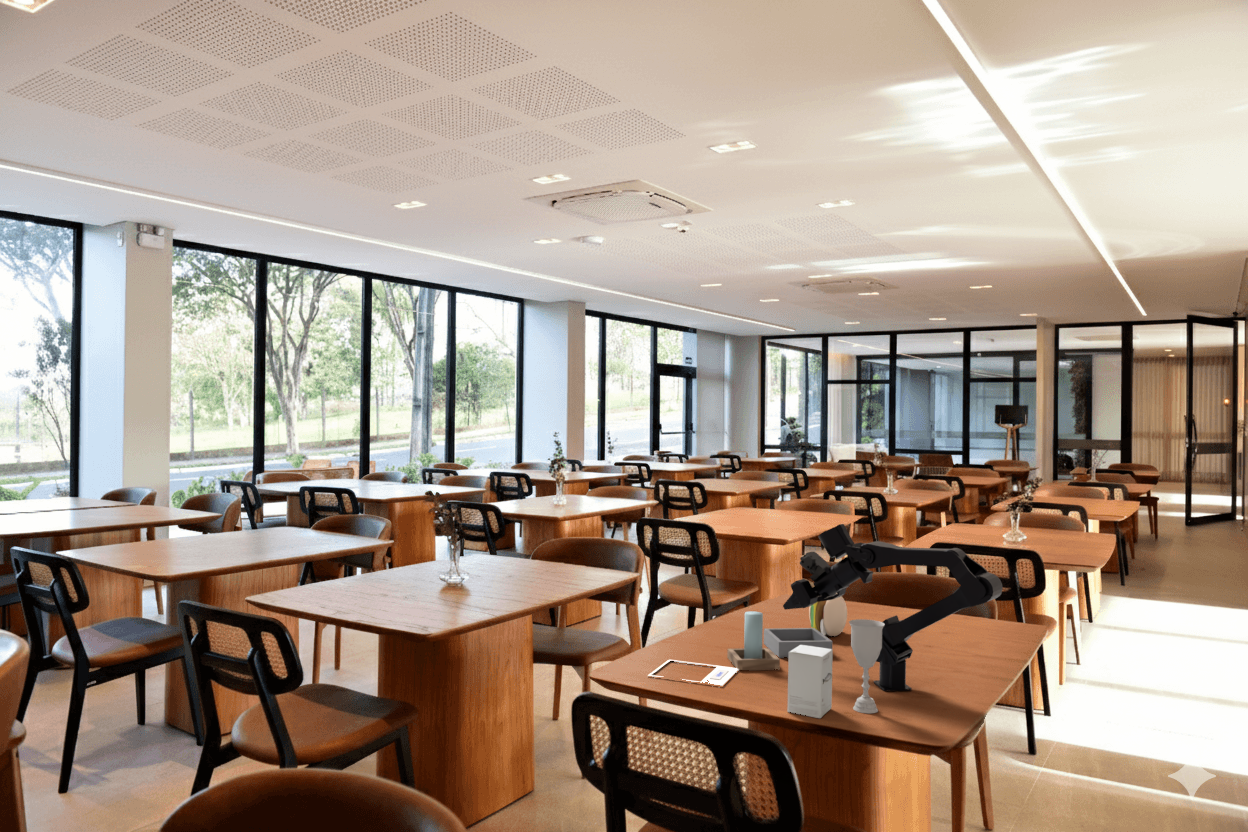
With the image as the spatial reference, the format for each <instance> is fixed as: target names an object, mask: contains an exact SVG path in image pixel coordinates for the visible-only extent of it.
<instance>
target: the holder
mask: <svg viewBox="0 0 1248 832" xmlns="http://www.w3.org/2000/svg"><path fill="white" fill-rule="evenodd" d="M726 650H727V654H726V655H727V658H728V659H729V660H730V661H731V662H732V664H733V665H734V666H735V667H736V668H737V669H739V670H749V671H780V670H781V667H780V665H781V660H780V659H781V658H778V657H777V656H776V655H775V654H774V653H773V652H772V651H771V650H770V649H769V648H768V647H762V658H758V659H744V647H743V648H742V647H741V648H740V647H739V648H727V649H726ZM728 659H727V660H728ZM729 660H728V661H729ZM730 661H729V662H730ZM731 662H730V663H731ZM732 664H731V665H732ZM733 665H732V666H733ZM734 666H733V667H734ZM735 667H734V668H735ZM774 669H775V670H774ZM776 669H778V670H776Z"/></svg>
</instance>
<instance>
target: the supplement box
mask: <svg viewBox="0 0 1248 832" xmlns="http://www.w3.org/2000/svg"><path fill="white" fill-rule="evenodd" d="M787 660H788V664H787V665H788V669H787V671H788V672H787V673H788V674H787V709H786V711H787V713H790V712H791V713H790V714H795V713H796V715H800V714H801V716H805V715H806V716H805V717H810V718H816V719H821V718H822V717H823V716H824V715H825V714H827V713H828V712H829V711H830V710H831V709H832V704H833V703H832V702H833V701H832V700H833V699H832V697H833V648H832V649H828V648H821V647H814V646H807V645H799V646H798V647H796V648H794V649H793V650H791V651H790V652H789V658H787Z"/></svg>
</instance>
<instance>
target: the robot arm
mask: <svg viewBox="0 0 1248 832" xmlns="http://www.w3.org/2000/svg"><path fill="white" fill-rule="evenodd" d="M818 539H819V541H820V542H821V544H822V545H823V547H824V549H825V551H826V553H827V554H828V556H829V557H830V558H831V559H832V558H835V560H839V561H837V562H836V563H835V564H832V565H830V564H829V563H828V562H827V561H826V560H825V559H824V558H823V557H822V556H821V555H820V554H819V553H817V552H815V551H809V552H806V553H805V554H804V555H802V556H801V557H799V559H800V561H799V565H800V566H801V567H802V568H804V569H805V571H807V572H808V573H810V574H811V575H810V576H809V578H810V579H811V581H812V582H813V586H812V585H811V583H810V581H809V580H808V579H805V578H801V579H798V580H795V581H794V582H792V583H791V584H790V588H791V590H792V592H791V593H792V594H790V596H789V597H788V599H787V600H786V601H785V602H784V604H782V607H783V609H784V610H795V609H806V608H810V606H811V605H813V604H815V603H817V602H820V601H827V600H832V599H835V598H838V597H840V596H842V597H843V596H844V595H845V594H846V592H847V588H849V587H850V585H851V584H853V583H855V582H856V581H858V580H859V579H860V580H861V581H862V584H868V583H871V582H873V574H874V571H873V570H871V569H880V568H884V567H890V566H899V565H900V566H917V567H918V566H919V567H920V566H921V567H938V568H940V567H942V568H947V570H948V571H950V573H951V575H952V576H953V577H954V579H955V581H956V582H957V583H958V584H959V585H960V586H959V587H958V588H957V589H955V591H953V592H952V593H951V594H950V595H947V596H946V597H944V598H942V599H940V600H938V601H936V602H934V603H932V604H931V605H929V606H927V607H925V608H923V609H921V610H919V611H917V612H915V613H914V614H911V615H910V616H908V617H906V618H904V619H901V620H900V619H899V617H898V615H897V614H896V615H893V616H890V617H888V618H885V619H884V620H882V622H883V623H884V624H885V625H884V627H883V629H882V649H881V651H880V654H879V656H878V658H877V660H876V662H875V663H879V674H878V675H879V680H873V684H874V685H876V686H877V687H878V688H879V689H881V690H882V691H884V692H906V691H907V692H908V691H910V692H911V691H912V690H913V689H912V687H911V686H909V685H908V684H907V683H906V680H907V678H906V677H907V676H906V675H907V659H910V658H911V656H912V654H913V648H912V647H911V646H910V645H909V643H908V642H907V641H908V640H909V639H910V638H911V637H913V635H914V634H917V633H918V632H920V631H922V630H924V629H926V628H928V627H930V626H932V625H934V624H935V623H937V622H939V621H941V620H943V619H945V618H948V617H949V616H951V615H954V614H956V613H958V612H959V611H961V610H963V609H969V608H972V607H973V608H974V607H975V606H979V605H983V604H986V603H988V602H991V601H992V600H995V599H997V598H999V597H1001V595H1002V593H1003V583H1002V581H1001V579H1000V578H999V577H998V575H996V574H995V573H992V572H989V571H988V570H987V569H986V568H985V567H984V566H983V565H981V564H980V563H978V562H977V561H975V560H974V559H972V558H971V557H970V556H969V555H968V554H967V553H966V552H965V551H964V550H962V549H961V548H958V547H953V548H935V547H934V548H932V547H927V548H926V547H906V546H905V547H903V546H899V545H896V544H893V543H889V542H885V541H880V540H879V541H876V540H875V541H872V542H867V543H865V542H856V543H855V542H854V540H853V539H852V536H850V534H849V532H848V530H847V527H846V526H845V524H844V523H840V524H838V525H836V526H834V527H832V528H830V529H827V530H824V531H822V532H821V533H820V534H819V535H818ZM845 556H846V557H845ZM841 558H843V559H841ZM836 593H837V594H836Z"/></svg>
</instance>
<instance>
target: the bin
mask: <svg viewBox="0 0 1248 832" xmlns="http://www.w3.org/2000/svg"><path fill="white" fill-rule="evenodd" d="M763 645H764V646H765V647H766V648H768V649H769V650H770V651H771V652H773V653H774V654H775V655H777V656H778V657H779V659H785V658H784V657H787V658H786V659H788V658H789V652H790V651H791V650H793V649H794V648H796V647H798V646H799V645H807V646H814V647H821V648H828V649H832V650H833V640H831V639H830V637H829V638H828V637H827V635H823V634H822V633H821V632H819V631H818V630H816V629H815V628H812V627H792V628H791V627H790V628H789V627H786V628H782V627H781V628H774V627H773V628H763Z"/></svg>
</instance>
